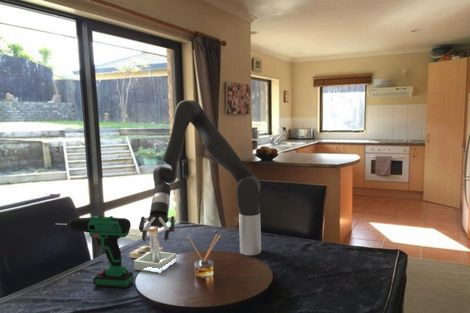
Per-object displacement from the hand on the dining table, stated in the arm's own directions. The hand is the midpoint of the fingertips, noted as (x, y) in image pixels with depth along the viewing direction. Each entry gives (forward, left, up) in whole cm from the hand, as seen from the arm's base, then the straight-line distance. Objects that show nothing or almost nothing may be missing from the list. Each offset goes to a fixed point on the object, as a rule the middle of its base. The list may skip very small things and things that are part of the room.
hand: (154, 240), depth 147 cm
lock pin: (0, 0, -10) cm, 10 cm away
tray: (0, 0, -10) cm, 10 cm away
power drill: (+21, -12, -11) cm, 26 cm away
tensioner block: (-9, -11, -10) cm, 18 cm away
